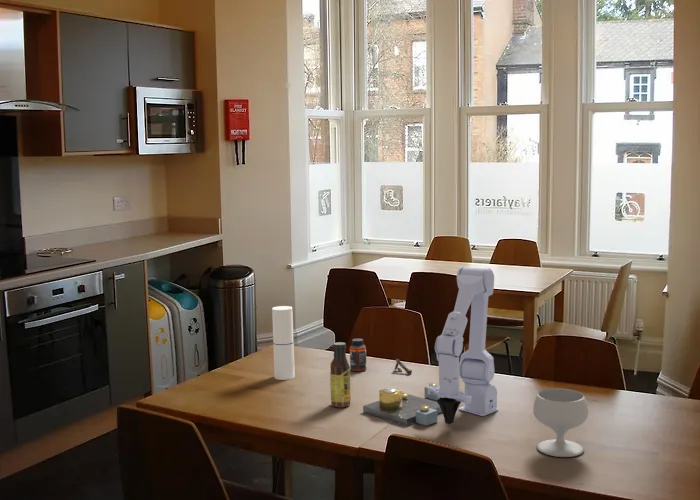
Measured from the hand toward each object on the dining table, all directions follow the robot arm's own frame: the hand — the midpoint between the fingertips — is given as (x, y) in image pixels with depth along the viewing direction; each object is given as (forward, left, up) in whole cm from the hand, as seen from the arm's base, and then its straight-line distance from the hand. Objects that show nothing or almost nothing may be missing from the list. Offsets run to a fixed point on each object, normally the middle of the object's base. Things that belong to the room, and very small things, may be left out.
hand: (449, 423), depth 229 cm
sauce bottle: (+39, +6, -2) cm, 40 cm away
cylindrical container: (+77, -2, -2) cm, 77 cm away
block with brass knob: (+9, 0, -2) cm, 9 cm away
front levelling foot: (+22, -19, -2) cm, 29 cm away
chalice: (-31, -8, -2) cm, 32 cm away
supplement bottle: (+64, -26, -2) cm, 69 cm away
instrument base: (+20, -3, -2) cm, 20 cm away
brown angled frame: (+50, -34, -2) cm, 60 cm away
